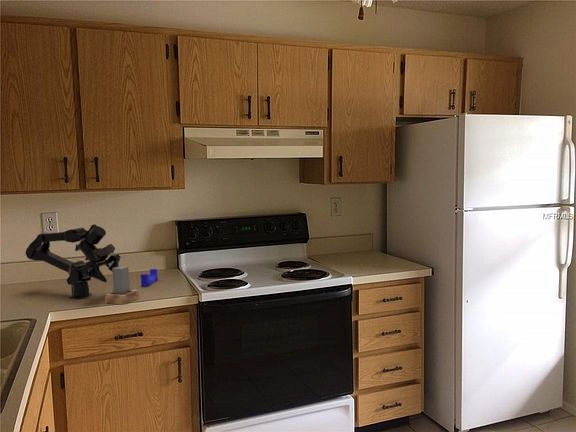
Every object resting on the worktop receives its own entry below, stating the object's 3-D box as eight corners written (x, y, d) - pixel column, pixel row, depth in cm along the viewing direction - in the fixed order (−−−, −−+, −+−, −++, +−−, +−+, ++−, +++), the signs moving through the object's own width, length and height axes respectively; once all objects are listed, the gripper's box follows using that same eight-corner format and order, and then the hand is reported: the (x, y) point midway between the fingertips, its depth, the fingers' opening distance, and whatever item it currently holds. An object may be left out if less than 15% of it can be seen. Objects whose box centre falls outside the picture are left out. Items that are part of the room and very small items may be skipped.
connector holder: (105, 302, 197) (104, 294, 196) (120, 296, 206) (119, 288, 205) (124, 304, 194) (123, 296, 193) (138, 298, 202) (138, 290, 202)
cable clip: (148, 280, 233) (148, 268, 232) (157, 281, 232) (157, 268, 232) (138, 287, 221) (137, 274, 220) (147, 287, 221) (146, 274, 220)
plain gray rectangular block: (114, 299, 198) (112, 268, 197) (121, 296, 202) (119, 266, 201) (123, 299, 197) (121, 269, 195) (130, 296, 201) (128, 266, 199)
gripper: (84, 242, 191) (108, 271, 189) (116, 235, 208) (138, 262, 206) (70, 260, 195) (93, 289, 192) (102, 252, 212) (124, 278, 210)
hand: (113, 279), depth 200 cm, fingers open, 9 cm apart
